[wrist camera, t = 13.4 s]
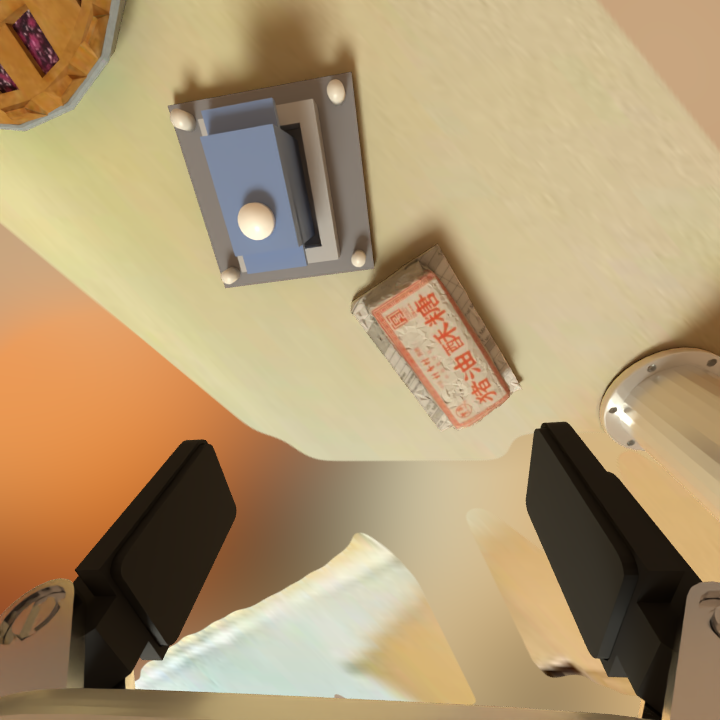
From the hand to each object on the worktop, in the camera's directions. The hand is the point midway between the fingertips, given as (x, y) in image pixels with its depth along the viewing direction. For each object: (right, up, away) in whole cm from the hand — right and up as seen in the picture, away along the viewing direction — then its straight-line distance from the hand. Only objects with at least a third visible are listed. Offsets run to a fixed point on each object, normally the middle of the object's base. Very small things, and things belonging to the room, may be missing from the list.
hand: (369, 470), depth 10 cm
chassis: (-7, +17, +19) cm, 27 cm away
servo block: (-7, +17, +18) cm, 26 cm away
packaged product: (+8, +5, +25) cm, 27 cm away
